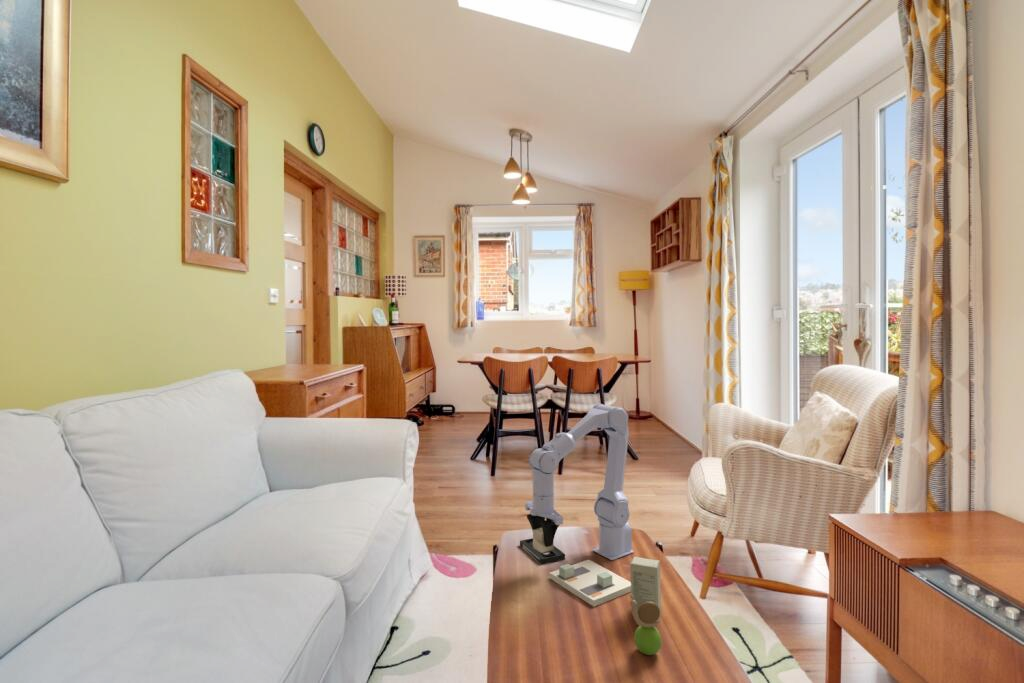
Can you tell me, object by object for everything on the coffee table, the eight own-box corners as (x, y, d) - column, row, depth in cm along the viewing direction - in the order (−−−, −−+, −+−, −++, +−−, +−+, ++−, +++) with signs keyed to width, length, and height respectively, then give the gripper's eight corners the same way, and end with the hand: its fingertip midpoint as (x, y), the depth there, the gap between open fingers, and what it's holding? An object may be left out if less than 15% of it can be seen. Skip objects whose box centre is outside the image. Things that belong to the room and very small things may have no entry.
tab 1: (567, 572, 133) (567, 563, 133) (573, 575, 131) (573, 566, 131) (559, 575, 131) (559, 566, 131) (565, 578, 129) (565, 569, 129)
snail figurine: (625, 645, 104) (625, 588, 104) (655, 643, 105) (655, 586, 104) (634, 662, 99) (634, 601, 99) (665, 660, 99) (665, 600, 99)
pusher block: (544, 544, 140) (544, 526, 139) (553, 549, 136) (553, 531, 136) (533, 547, 137) (532, 529, 137) (541, 553, 134) (541, 534, 134)
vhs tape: (519, 547, 154) (519, 540, 154) (542, 542, 157) (542, 536, 157) (540, 566, 141) (540, 559, 141) (565, 561, 144) (565, 554, 144)
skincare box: (661, 612, 116) (661, 560, 116) (658, 621, 113) (658, 568, 112) (633, 606, 119) (633, 555, 119) (630, 615, 115) (630, 562, 115)
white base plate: (588, 564, 141) (588, 559, 141) (634, 590, 127) (634, 583, 127) (549, 578, 133) (549, 572, 133) (593, 606, 119) (593, 600, 119)
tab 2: (605, 580, 128) (605, 571, 128) (612, 584, 126) (612, 575, 126) (597, 583, 127) (597, 574, 126) (603, 587, 125) (603, 578, 125)
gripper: (516, 489, 140) (516, 537, 141) (548, 503, 128) (548, 556, 129) (536, 485, 144) (536, 531, 145) (569, 498, 132) (569, 549, 132)
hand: (543, 542), depth 137 cm, fingers closed on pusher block, 4 cm apart
